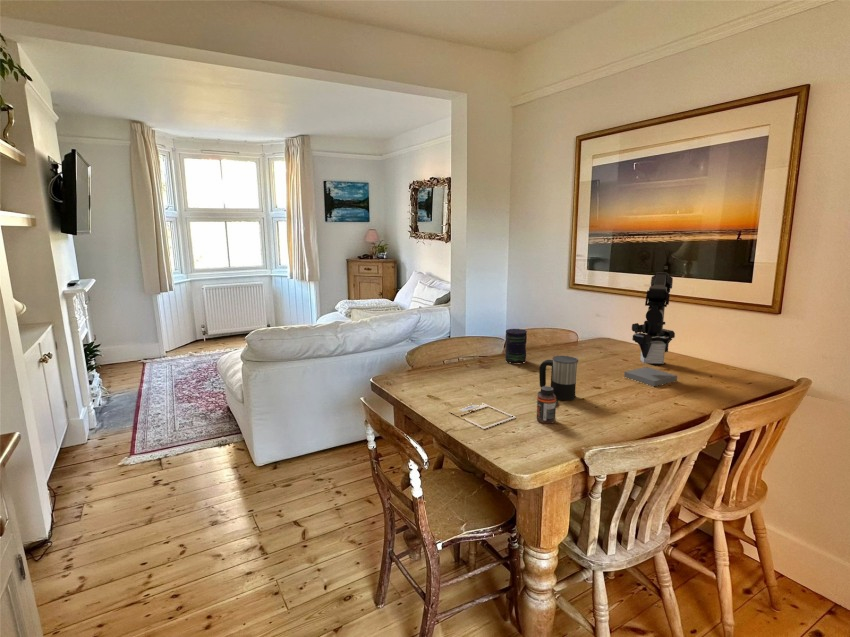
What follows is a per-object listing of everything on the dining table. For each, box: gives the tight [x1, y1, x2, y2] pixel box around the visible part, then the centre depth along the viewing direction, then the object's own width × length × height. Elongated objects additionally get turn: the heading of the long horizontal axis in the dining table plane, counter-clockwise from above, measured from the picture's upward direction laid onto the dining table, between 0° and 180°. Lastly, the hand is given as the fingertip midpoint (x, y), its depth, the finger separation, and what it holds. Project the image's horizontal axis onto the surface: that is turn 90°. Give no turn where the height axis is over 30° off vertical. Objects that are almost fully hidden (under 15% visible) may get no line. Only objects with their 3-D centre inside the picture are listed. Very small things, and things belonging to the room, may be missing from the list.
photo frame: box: [459, 402, 517, 430], centre depth 154 cm, size 15×1×18 cm
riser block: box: [623, 366, 678, 388], centre depth 188 cm, size 14×14×3 cm
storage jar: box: [504, 328, 528, 363], centre depth 214 cm, size 10×10×15 cm
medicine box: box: [640, 341, 666, 365], centre depth 186 cm, size 8×4×9 cm, turn 82°
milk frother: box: [537, 355, 579, 405], centre depth 166 cm, size 14×16×15 cm
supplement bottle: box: [536, 385, 557, 425], centre depth 148 cm, size 6×6×11 cm
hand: (652, 356), depth 186 cm, fingers closed on medicine box, 9 cm apart
